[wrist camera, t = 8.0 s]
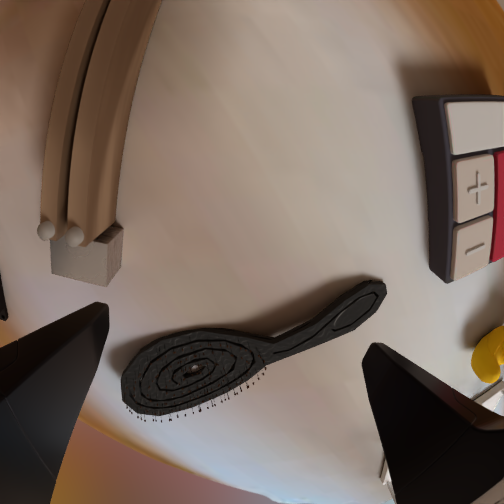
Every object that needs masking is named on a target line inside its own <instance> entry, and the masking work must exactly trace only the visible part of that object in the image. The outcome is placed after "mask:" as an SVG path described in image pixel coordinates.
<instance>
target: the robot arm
mask: <svg viewBox="0 0 504 504" xmlns="http://www.w3.org/2000/svg"><path fill="white" fill-rule="evenodd" d="M0 319H1V320H3V321H6V320H7V319H8V312H7V308H6V303H5V298H4V293H3V287H2V281H1V275H0ZM108 332H109V307H108V305H107V304H105V303H101V302H94V303H92V304H90V305H88V306H86V307H84V308H81V309H79V310H77V311H75V312H73V313H71V314H69V315H67V316H65V317H63V318H61V319H59V320H56V321H54V322H52V323H50V324H48V325H46V326H44V327H42V328H40V329H38V330H36V331H34V332H32V333H30V334H28V335H26V336H24V337H22V338H20V339H18V341H17V340H15V341H13V342H11V343H9V344H7V345H5V346H3V347H1V348H0V504H50V501H51V498H52V494H53V490H54V487H55V484H56V479H57V476H58V473H59V470H60V467H61V464H62V460H63V457H64V454H65V451H66V448H67V445H68V443H69V440H70V437H71V434H72V431H73V429H74V426H75V423H76V420H77V418H78V415H79V413H80V410H81V408H82V405H83V403H84V400H85V398H86V395H87V393H88V390H89V388H90V385H91V383H92V381H93V378H94V376H95V373H96V371H97V368H98V365H99V361H100V358H101V355H102V351H103V348H104V345H105V342H106V339H107V335H108ZM362 369H363V374H364V378H365V383H366V388H367V393H368V398H369V402H370V405H371V409H372V412H373V415H374V419H375V422H376V426H377V429H378V433H379V436H380V440H381V443H382V447H383V451H384V454H385V458H386V462H387V466H388V470H389V474H390V478H391V482H392V486H393V490H394V494H395V499H396V504H504V416H501V415H498V414H497V413H495V412H493V411H491V410H489V409H487V408H485V407H484V406H482V405H480V404H478V403H476V402H475V401H473V400H471V399H469V398H468V397H466V396H465V395H463V394H461V393H460V392H458V391H457V390H455V389H453V388H451V387H450V386H449V385H447V384H446V383H444V382H442V381H441V380H439V379H438V378H436V377H435V376H433V375H432V374H430V373H428V372H427V371H425V370H424V369H422V368H421V367H419V366H418V365H416V364H414V363H413V362H411V361H410V360H408V359H407V358H405V357H404V356H402V355H401V354H399V353H397V352H396V351H394V350H393V349H391V348H390V347H388V346H387V345H385V344H383V343H376V342H374V343H372V344H371V345H370V347H369V348H368V350H367V352H366V354H365V356H364V358H363V360H362Z"/></svg>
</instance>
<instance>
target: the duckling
mask: <svg viewBox="0 0 504 504" xmlns="http://www.w3.org/2000/svg"><path fill="white" fill-rule="evenodd" d="M501 364H504V326H499V327H497V328H496V329H494V330H492V332H490V333H489V334H487V335H486V336H484V337H483V338H482V339H481V340H480V342H479V343H478V345H477V346H476V348H475V350H474V352H473V354H472V359H471V366H472V369H473V371H474V372H475V374H476V375H477V376H478V378H479V379H480V380H481V381H483V382H485V383H494V382H496V381H497V380H498V378H499V377H500V373H501V371H500V366H499V365H501Z"/></svg>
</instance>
